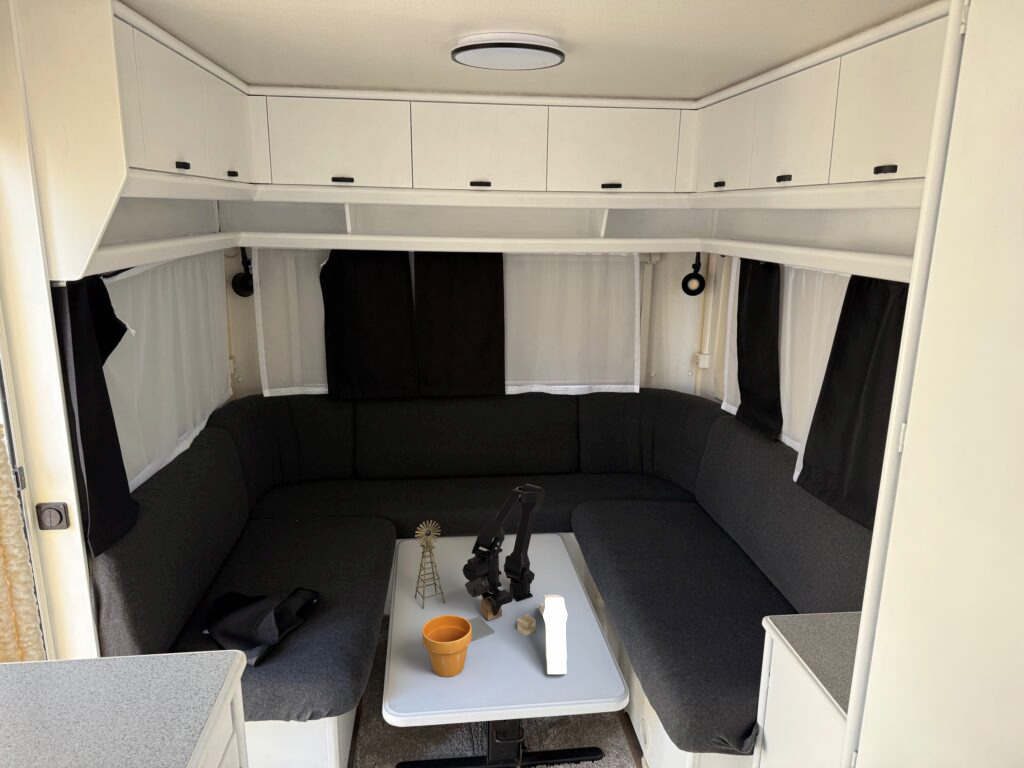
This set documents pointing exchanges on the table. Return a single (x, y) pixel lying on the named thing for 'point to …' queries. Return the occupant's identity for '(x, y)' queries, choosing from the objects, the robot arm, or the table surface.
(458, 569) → the table surface
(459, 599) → the table surface
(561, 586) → the table surface
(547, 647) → the white elongated block
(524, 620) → the maple cube
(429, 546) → the miniature windmill
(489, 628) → the plate
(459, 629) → the flower pot
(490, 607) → the walnut cube
